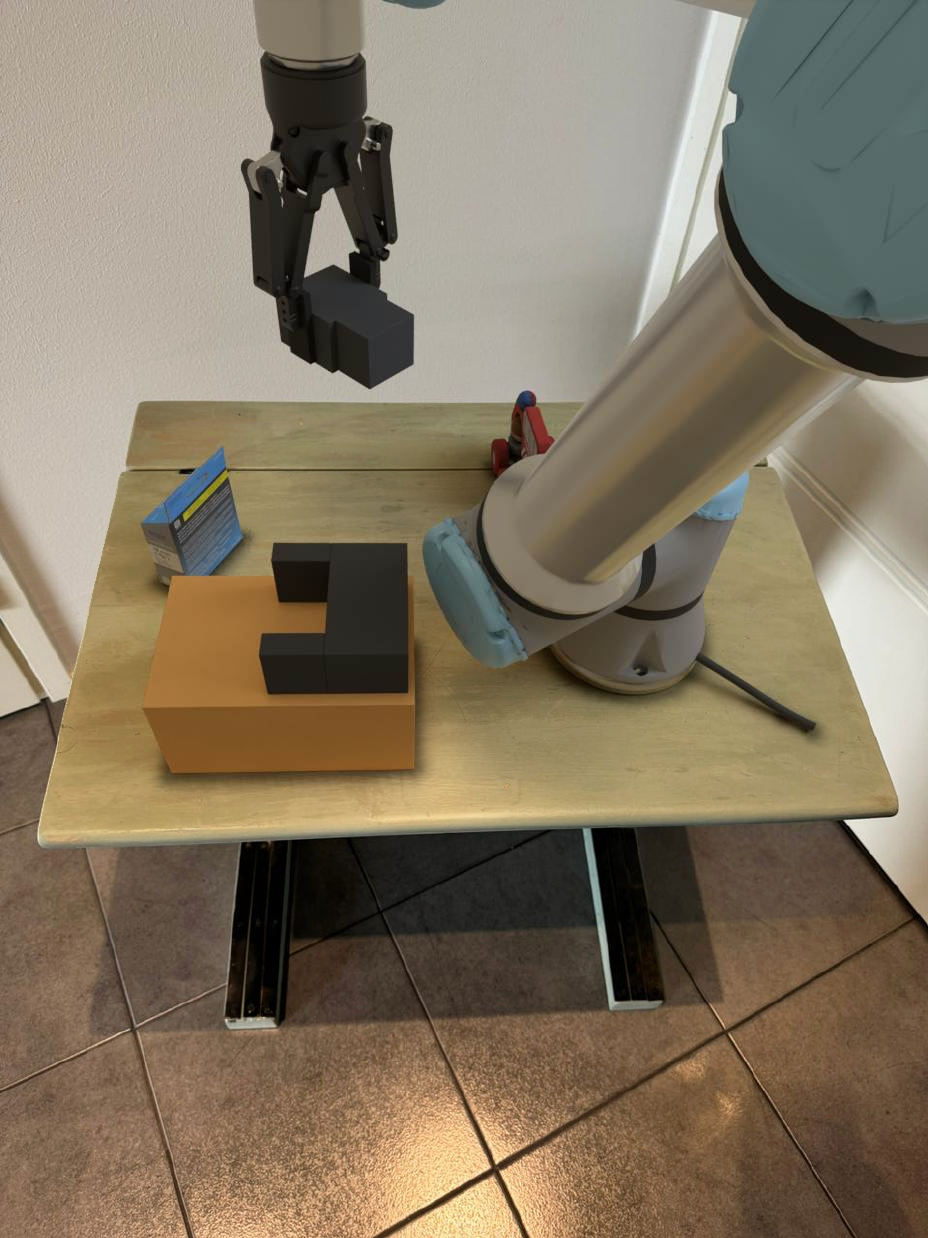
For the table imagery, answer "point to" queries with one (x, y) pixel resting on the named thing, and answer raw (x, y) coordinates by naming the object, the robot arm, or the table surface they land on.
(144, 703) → the orange and black block
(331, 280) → the black stepped block
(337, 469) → the table surface
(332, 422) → the table surface
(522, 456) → the toy fire truck
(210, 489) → the blue retail box
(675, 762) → the table surface
